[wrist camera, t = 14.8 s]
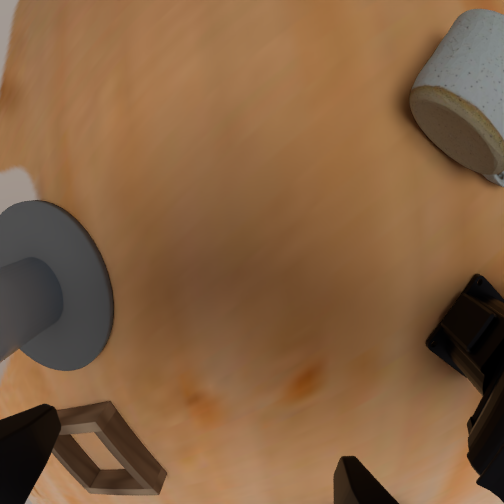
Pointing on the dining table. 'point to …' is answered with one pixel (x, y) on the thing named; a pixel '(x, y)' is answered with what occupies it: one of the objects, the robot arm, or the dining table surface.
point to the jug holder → (117, 442)
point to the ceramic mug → (466, 94)
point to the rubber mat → (62, 281)
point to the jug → (27, 302)
